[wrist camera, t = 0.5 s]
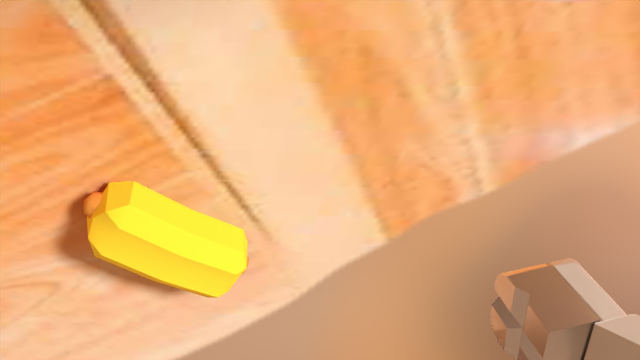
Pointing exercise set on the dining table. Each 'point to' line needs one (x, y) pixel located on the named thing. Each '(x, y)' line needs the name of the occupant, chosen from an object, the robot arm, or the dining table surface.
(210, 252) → the yellow faceted rounded part
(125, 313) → the dining table surface
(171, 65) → the dining table surface
